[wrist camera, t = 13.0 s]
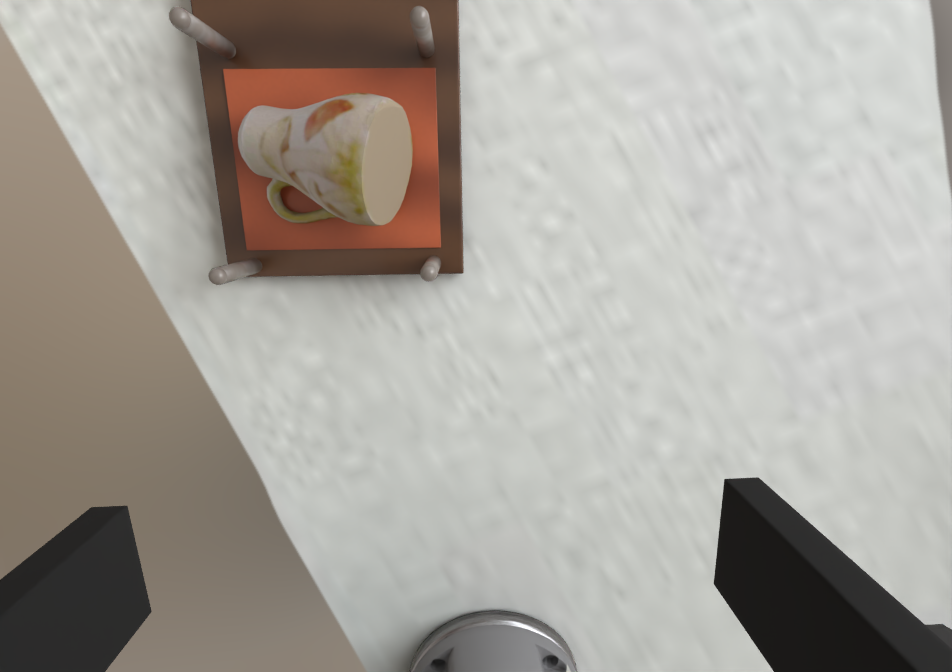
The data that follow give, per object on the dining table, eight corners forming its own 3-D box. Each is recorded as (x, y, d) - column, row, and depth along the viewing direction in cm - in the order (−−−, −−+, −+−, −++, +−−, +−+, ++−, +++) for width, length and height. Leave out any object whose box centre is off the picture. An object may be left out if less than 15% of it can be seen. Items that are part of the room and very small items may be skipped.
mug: (248, 83, 31) (277, 15, 22) (391, 148, 36) (458, 113, 27) (218, 200, 30) (235, 175, 22) (365, 248, 36) (425, 243, 27)
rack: (463, 270, 35) (463, 287, 28) (238, 274, 35) (180, 292, 28) (454, -209, 28) (451, -352, 21) (172, -211, 28) (71, -357, 21)
